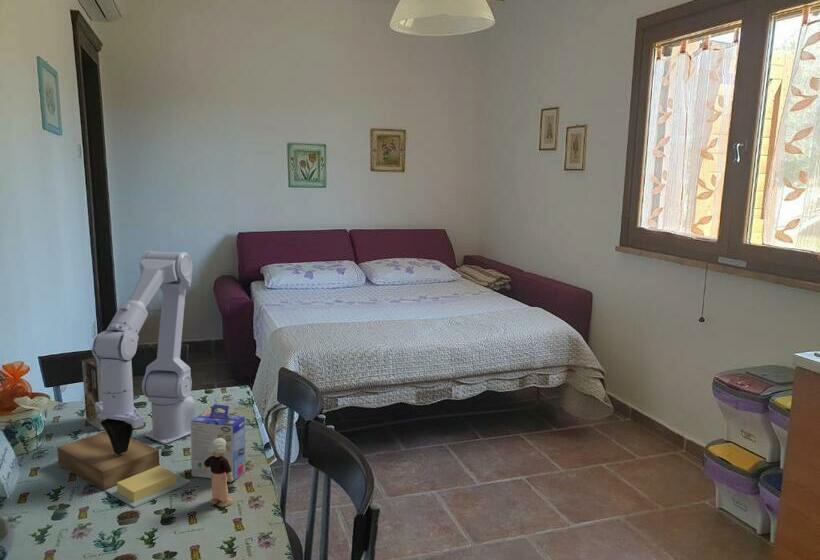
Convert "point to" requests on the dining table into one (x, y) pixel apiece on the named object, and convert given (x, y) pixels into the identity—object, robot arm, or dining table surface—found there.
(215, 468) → the grandmother figurine
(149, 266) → the robot arm
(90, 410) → the coffee box
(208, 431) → the ink cartridge box
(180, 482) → the mat
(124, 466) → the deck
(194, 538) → the dining table surface
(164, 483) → the pale yellow foam brick
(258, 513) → the dining table surface
